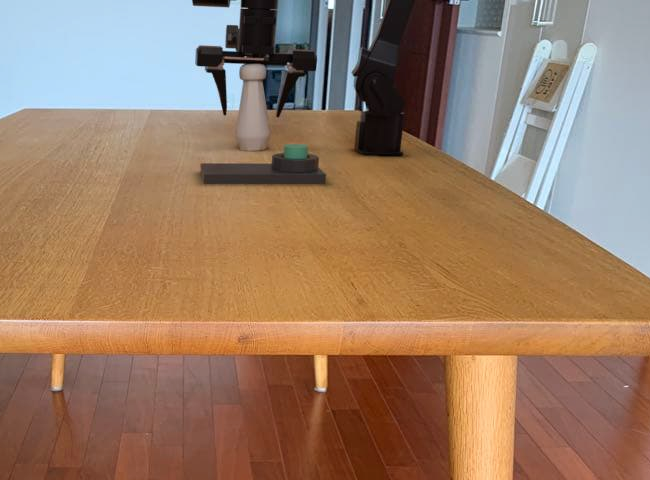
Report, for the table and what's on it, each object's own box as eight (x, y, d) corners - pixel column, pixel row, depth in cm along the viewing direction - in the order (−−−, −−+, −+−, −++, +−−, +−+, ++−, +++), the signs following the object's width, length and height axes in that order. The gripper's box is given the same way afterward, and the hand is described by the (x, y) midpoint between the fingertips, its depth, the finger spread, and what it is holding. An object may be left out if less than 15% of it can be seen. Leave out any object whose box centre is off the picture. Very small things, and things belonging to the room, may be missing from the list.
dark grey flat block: (313, 173, 113) (315, 151, 112) (325, 184, 106) (327, 161, 105) (200, 173, 113) (200, 151, 111) (204, 184, 106) (204, 161, 104)
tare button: (304, 157, 110) (305, 143, 109) (309, 161, 107) (310, 147, 106) (281, 157, 110) (282, 143, 109) (285, 161, 107) (286, 147, 106)
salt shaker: (271, 151, 130) (272, 63, 125) (236, 152, 131) (235, 65, 125) (269, 145, 136) (269, 61, 130) (234, 147, 136) (234, 63, 130)
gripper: (309, 11, 132) (299, 112, 139) (195, 6, 131) (191, 108, 138) (322, 12, 122) (311, 120, 129) (199, 6, 121) (194, 116, 128)
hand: (251, 116), depth 131 cm, fingers closed on salt shaker, 8 cm apart
